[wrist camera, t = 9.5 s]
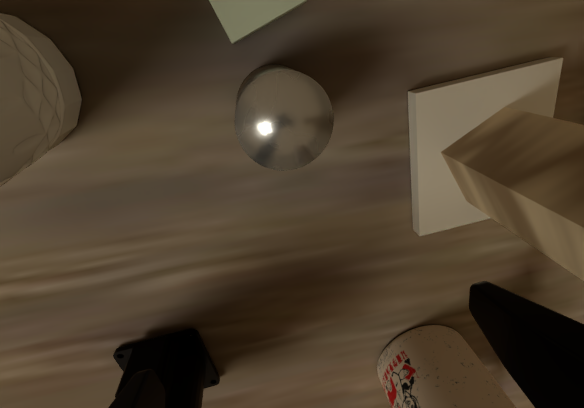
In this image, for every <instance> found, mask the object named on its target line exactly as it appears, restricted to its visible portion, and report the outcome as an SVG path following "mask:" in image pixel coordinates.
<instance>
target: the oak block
mask: <svg viewBox="0 0 584 408" xmlns="http://www.w3.org/2000/svg"><path fill="white" fill-rule="evenodd" d="M441 154H442V156H443V158H444V160H445V161H446V163H447V165H448V167H449V169H450V171H451V173H452V175H453V177H454V178H455V180H456V182H457V184H458V186H459V188H460V190H461V192H462V194H463V195H464V197H465V199H466V201H467V202H469V203H470V204H471V205H473V206H474V207H476V208H477V209H479V210H480V211H482V212H483V213H485V214H486V215H488V216H489V217H490V218H492V219H493V220H495V221H496V222H498V223H499V224H501V225H502V226H504V227H505V228H507V229H508V230H509V231H511V232H512V233H514V234H515V235H517V236H518V237H520V238H521V239H523V240H524V241H525V242H527V243H528V244H530V245H531V246H533V247H534V248H536V249H537V250H539V251H540V252H542V253H543V254H544V255H546V256H547V257H549V258H550V259H552V260H553V261H555V262H556V263H558V264H559V265H561V266H562V267H563V268H565V269H566V270H568V271H569V272H571V273H572V274H574V275H575V276H577V277H578V278H580V279H581V280H582V281H584V125H583V124H578V123H574V122H569V121H565V120H561V119H556V118H552V117H547V116H543V115H539V114H534V113H530V112H525V111H521V110H516V109H512V108H508V107H504V108H502V109H501V110H499V111H498V112H497V113H495V114H494V115H492V116H491V117H490V118H488V119H487V120H485V121H484V122H483V123H481V124H480V125H478V126H477V127H475V128H474V129H473V130H471V131H470V132H468V133H467V134H466V135H464V136H463V137H461V138H460V139H458V140H457V141H456V142H454V143H453V144H451V145H450V146H449V147H447V148H446V149H444V150H443V151H442V152H441Z"/></svg>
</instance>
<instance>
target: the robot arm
mask: <svg viewBox="0 0 584 408" xmlns="http://www.w3.org/2000/svg"><path fill="white" fill-rule="evenodd" d="M469 309H470V312H471V314H472V316H473V317H474V319H475V320H476V322H477V324H478V325H479V327H480V329H481V330H482V332H483V333H484V335H485V337H486V338H487V340H488V342H489V343H490V345H491V346H492V348H493V350H494V351H495V353H496V354H497V356H498V358H499V359H500V361H501V362H502V364H503V365H504V367H505V368H506V369H507V371H508V372H509V374H510V375H511V376H512V378H513V379H514V380H515V382H516V383H517V384H518V386H519V387H520V388H521V390H522V391H523V392H524V393H525V395H526V396H527V397H528V399H529V400H530V401H531V403H532V404H533V405H534V407H535V408H584V324H582V323H580V322H577V321H575V320H573V319H571V318H568V317H566V316H564V315H562V314H559V313H557V312H555V311H553V310H550V309H548V308H546V307H544V306H542V305H539V304H537V303H535V302H533V301H530V300H528V299H526V298H524V297H521V296H519V295H517V294H515V293H512V292H510V291H508V290H506V289H503V288H501V287H499V286H497V285H494V284H492V283H490V282H487V281H483V282H479V283H475V284H472V285H471V287H470V296H469ZM190 335H192V336H190ZM113 357H114V359H115V360H116V362H117V363H118V364H119V366H120V367H121V369H122V370H123V375H122V378H121V381H120V383H119V386H118V389H117V392H116V394H115V397H116V399H115V400H114V401H113V402H112V404H111V405H110V406H109V408H201V407H202V398H203V389H204V388H208V387H211V386H215V385H217V384H219V381H220V376H219V374H218V372H217V370H216V368H215V366H214V364H213V362H212V360H211V358H210V355H209V353H208V351H207V349H206V347H205V345H204V343H203V341H202V339H201V337H200V335H199V333H198V331H197V330H195V329H188V330H184V331H181V332H177V333H173V334H169V335H165V336H161V337H158V338H154V339H150V340H146V341H142V342H138V343H135V344H131V345H127V346H123V347H119V348H117V349H116V350H115V352H114V355H113Z"/></svg>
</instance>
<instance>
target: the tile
mask: <svg viewBox="0 0 584 408" xmlns="http://www.w3.org/2000/svg"><path fill="white" fill-rule="evenodd" d="M562 62H563V58H554V57H548V58H544V59H540V60H536V61H531V62H527V63H523V64H519V65H515V66H511V67H507V68H502V69H498V70H494V71H490V72H486V73H482V74H478V75H474V76H469V77H465V78H461V79H457V80H453V81H449V82H445V83H440V84H436V85H432V86H428V87H424V88H420V89H416V90H411V91H408V111H409V138H410V165H411V191H412V218H413V230H414V231H415V232H416V233H417V234H418V235H419V236H424V235H427V234H431V233H435V232H439V231H443V230H447V229H451V228H455V227H459V226H462V225H466V224H470V223H474V222H478V221H482V220H486V219H490V217H489V216H488V215H486V214H485V213H483V212H482V211H480V210H479V209H477V208H476V207H474V206H473V205H471V204H470V203H469V202H467V201H466V199H465V197H464V195H463V194H462V192H461V190H460V188H459V186H458V184H457V182H456V180H455V178H454V177H453V175H452V173H451V171H450V169H449V167H448V165H447V163H446V161H445V160H444V158H443V156H442V154H441V152H442V151H443V150H444V149H446V148H447V147H449V146H450V145H451V144H453V143H454V142H456V141H457V140H458V139H460V138H461V137H463V136H464V135H466V134H467V133H468V132H470V131H471V130H473V129H474V128H475V127H477V126H478V125H480V124H481V123H483V122H484V121H485V120H487V119H488V118H490V117H491V116H492V115H494V114H495V113H497V112H498V111H499V110H501V109H502V108H504V107H508V108H512V109H516V110H521V111H525V112H530V113H534V114H539V115H543V116H547V117H552V118H553V116H554V110H555V104H556V98H557V92H558V86H559V80H560V74H561V68H562Z"/></svg>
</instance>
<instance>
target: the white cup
mask: <svg viewBox="0 0 584 408" xmlns="http://www.w3.org/2000/svg"><path fill="white" fill-rule="evenodd" d="M81 102H82V97H81V94H80V91H79V87H78V84H77V80H76V77H75V73H74V70H73V68H72V66H71V65H70V64H69V63H68V61H67V60H66V59H65V57H64V56H63V55H62V53H61V52H60V51H59V50H58V48H57V47H56V46H55V44H54V43H53V42H52V41H51V39H50V38H48V37H47V36H45V35H43V34H42V33H40V32H39V31H37V30H36V29H34V28H33V27H31V26H30V25H28V24H27V23H25V22H24V21H22V20H21V19H19V18H17V17H16V16H12V15H8V14H3V13H0V186H2V185H3V184H5V183H6V182H8V181H9V180H10V179H11V178H13V177H14V176H16V175H17V174H19V173H20V172H21V171H23V170H24V169H25V168H27V167H29V166H30V165H31V164H33V163H34V162H36V161H37V160H38V159H40V158H41V157H42V156H43V155H44V154H46V153H47V151H49V150H51V149H52V148H54V147H55V146H57V145H58V144H59V143H60V142H61V141H62V140H63V139H64V138H65V137H66V136H67V135H68V134H69V133H70V132H71V131H72V130H73V129H74V128H75V127H76V126H77V122H78V117H79V112H80V107H81Z"/></svg>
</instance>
